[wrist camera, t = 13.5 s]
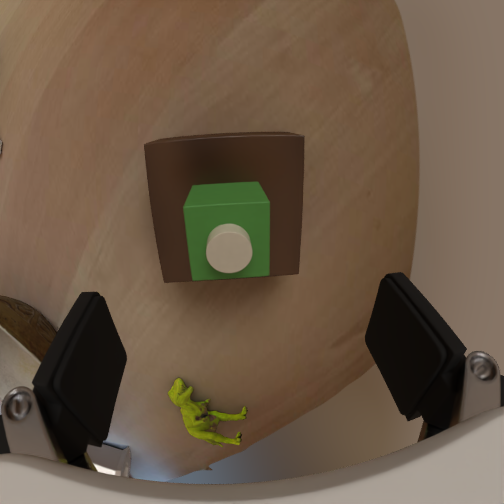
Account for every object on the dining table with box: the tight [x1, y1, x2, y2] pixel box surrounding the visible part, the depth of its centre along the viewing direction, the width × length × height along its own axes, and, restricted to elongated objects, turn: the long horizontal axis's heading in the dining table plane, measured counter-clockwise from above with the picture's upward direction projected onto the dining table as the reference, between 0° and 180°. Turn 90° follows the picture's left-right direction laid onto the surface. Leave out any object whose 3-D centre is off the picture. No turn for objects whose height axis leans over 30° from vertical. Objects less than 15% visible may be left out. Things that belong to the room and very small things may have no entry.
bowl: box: [0, 295, 57, 400], centre depth 25 cm, size 24×24×10 cm
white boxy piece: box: [87, 444, 131, 478], centre depth 38 cm, size 25×16×19 cm, turn 73°
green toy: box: [183, 182, 270, 281], centre depth 17 cm, size 5×5×6 cm
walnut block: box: [144, 132, 304, 283], centre depth 22 cm, size 11×11×5 cm
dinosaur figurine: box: [168, 378, 248, 447], centre depth 36 cm, size 20×10×6 cm, turn 25°
